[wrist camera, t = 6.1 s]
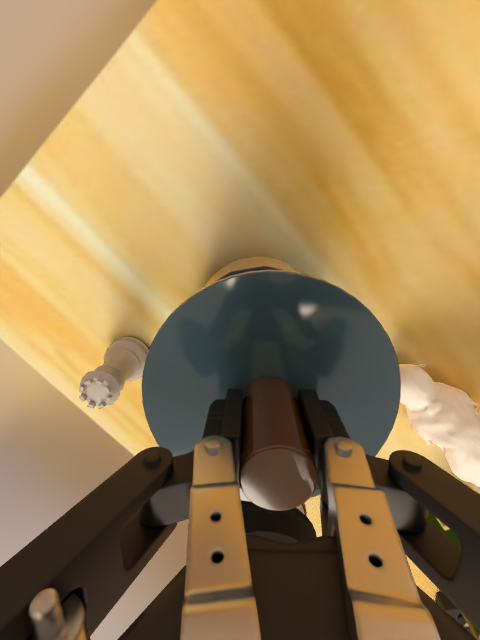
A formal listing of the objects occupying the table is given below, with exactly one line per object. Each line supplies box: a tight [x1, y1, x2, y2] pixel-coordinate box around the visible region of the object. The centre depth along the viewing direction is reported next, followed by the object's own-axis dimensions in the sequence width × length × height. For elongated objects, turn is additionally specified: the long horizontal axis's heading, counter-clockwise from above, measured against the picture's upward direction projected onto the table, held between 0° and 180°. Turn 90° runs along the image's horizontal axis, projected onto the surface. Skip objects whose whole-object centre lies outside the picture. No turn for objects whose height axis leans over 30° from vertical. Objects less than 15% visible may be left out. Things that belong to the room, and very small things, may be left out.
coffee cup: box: [241, 500, 316, 544], centre depth 27 cm, size 8×8×15 cm
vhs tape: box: [436, 592, 475, 637], centre depth 41 cm, size 14×8×2 cm, turn 6°
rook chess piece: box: [79, 337, 149, 409], centre depth 28 cm, size 4×4×8 cm
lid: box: [142, 270, 401, 511], centre depth 13 cm, size 12×12×6 cm
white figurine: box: [399, 364, 480, 487], centre depth 29 cm, size 6×8×12 cm
